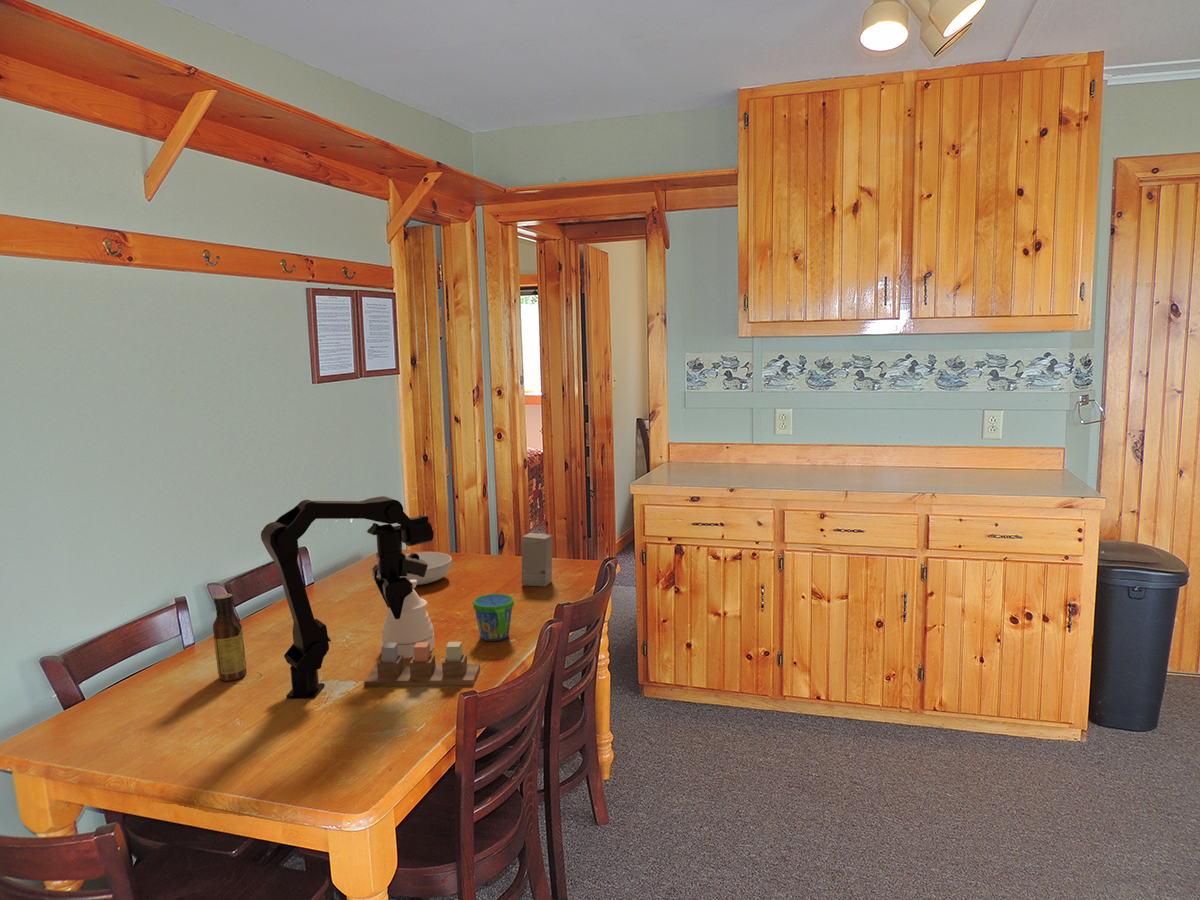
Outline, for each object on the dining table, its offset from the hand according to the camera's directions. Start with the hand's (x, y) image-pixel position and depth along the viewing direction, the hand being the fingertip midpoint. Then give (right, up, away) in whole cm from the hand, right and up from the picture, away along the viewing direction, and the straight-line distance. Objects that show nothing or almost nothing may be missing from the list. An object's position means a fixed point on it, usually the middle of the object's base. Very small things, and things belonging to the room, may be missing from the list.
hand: (393, 613), depth 195 cm
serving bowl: (-9, -4, +70) cm, 71 cm away
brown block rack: (+8, -14, -5) cm, 17 cm away
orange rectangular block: (+8, -11, -6) cm, 15 cm away
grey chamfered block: (+1, -11, -6) cm, 12 cm away
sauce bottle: (-38, -15, -2) cm, 40 cm away
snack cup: (+22, -10, +19) cm, 31 cm away
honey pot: (+1, -12, +13) cm, 17 cm away
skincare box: (+30, -4, +64) cm, 71 cm away
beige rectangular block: (+16, -11, -6) cm, 20 cm away
